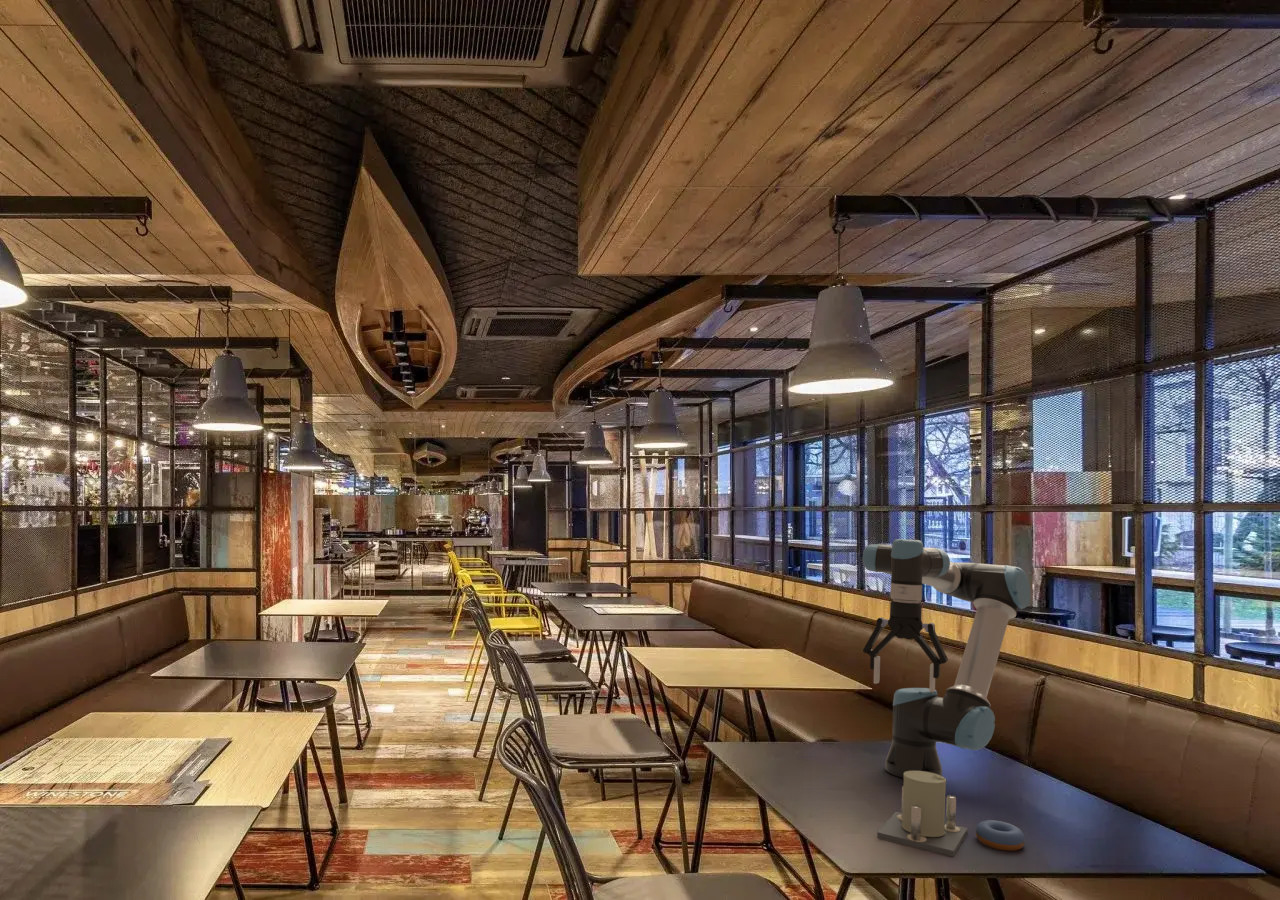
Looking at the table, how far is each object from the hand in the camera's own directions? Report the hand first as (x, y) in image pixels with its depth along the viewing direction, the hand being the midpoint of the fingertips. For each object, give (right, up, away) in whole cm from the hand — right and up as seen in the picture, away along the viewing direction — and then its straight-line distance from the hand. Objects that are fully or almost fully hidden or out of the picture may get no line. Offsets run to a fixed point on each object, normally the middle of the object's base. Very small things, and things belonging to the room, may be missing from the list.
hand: (903, 687), depth 205 cm
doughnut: (+14, -28, -24) cm, 39 cm away
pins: (-3, -26, -22) cm, 34 cm away
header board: (-3, -27, -21) cm, 35 cm away
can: (-3, -26, -21) cm, 34 cm away
